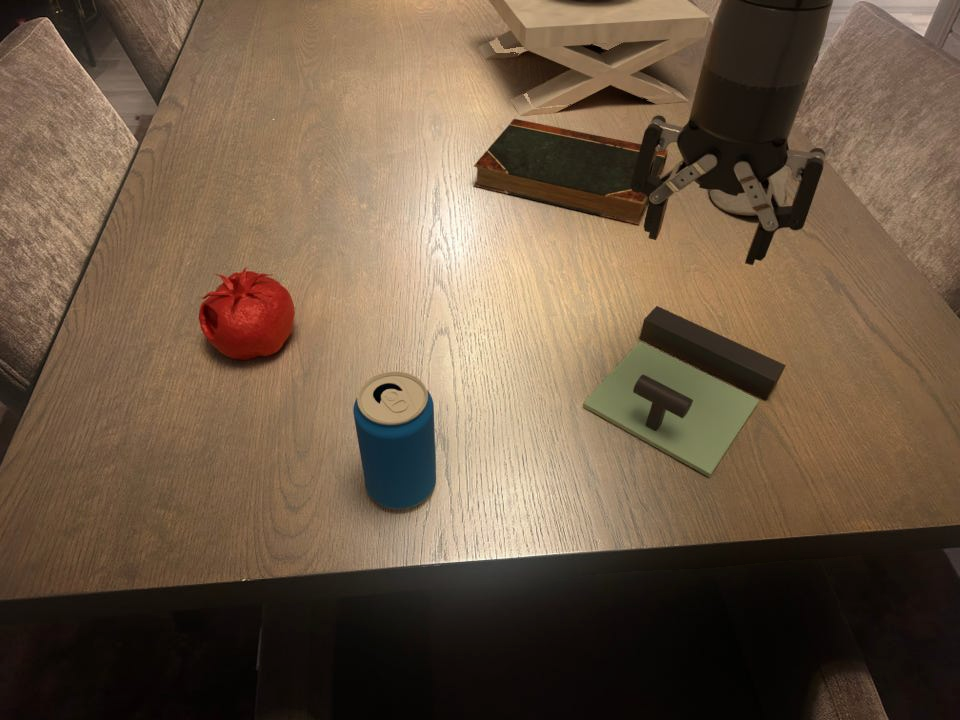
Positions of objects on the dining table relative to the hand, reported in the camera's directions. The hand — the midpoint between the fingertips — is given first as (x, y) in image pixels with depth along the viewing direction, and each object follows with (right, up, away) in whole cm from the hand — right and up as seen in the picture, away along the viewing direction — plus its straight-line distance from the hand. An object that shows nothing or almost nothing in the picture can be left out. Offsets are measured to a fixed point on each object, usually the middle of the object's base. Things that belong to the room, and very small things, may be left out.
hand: (701, 247), depth 60 cm
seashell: (+19, +13, +39) cm, 45 cm away
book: (-6, +17, +42) cm, 46 cm away
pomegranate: (-45, -8, +15) cm, 48 cm away
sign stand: (+5, -10, +14) cm, 18 cm away
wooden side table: (-1, +46, +70) cm, 84 cm away
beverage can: (-27, -22, +2) cm, 35 cm away
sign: (0, -15, +9) cm, 17 cm away
